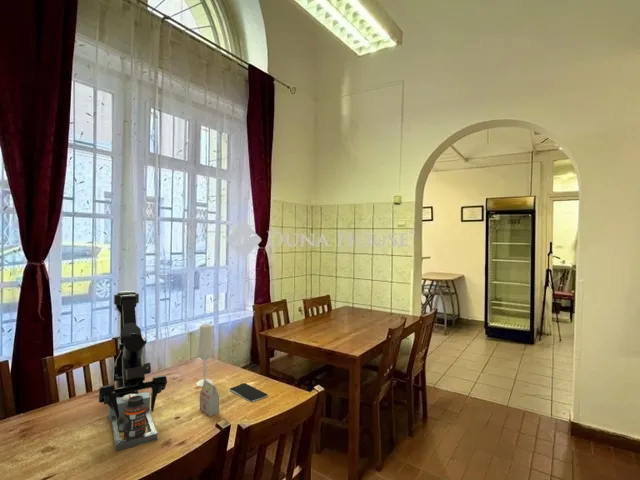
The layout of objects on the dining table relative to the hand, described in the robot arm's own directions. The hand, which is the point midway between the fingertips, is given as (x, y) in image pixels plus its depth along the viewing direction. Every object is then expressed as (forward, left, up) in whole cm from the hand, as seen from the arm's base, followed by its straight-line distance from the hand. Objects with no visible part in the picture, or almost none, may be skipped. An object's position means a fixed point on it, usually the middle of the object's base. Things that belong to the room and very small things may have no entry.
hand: (135, 415), depth 106 cm
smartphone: (+11, +41, -7) cm, 43 cm away
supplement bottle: (-1, +1, -7) cm, 7 cm away
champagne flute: (-11, +40, -7) cm, 42 cm away
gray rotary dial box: (-15, +9, -7) cm, 19 cm away
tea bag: (+8, +23, -7) cm, 25 cm away
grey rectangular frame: (-5, +3, -7) cm, 9 cm away
